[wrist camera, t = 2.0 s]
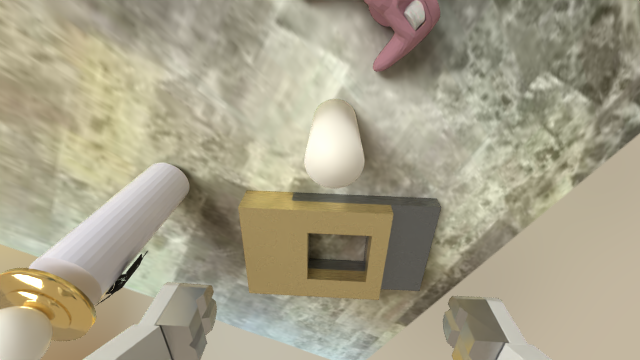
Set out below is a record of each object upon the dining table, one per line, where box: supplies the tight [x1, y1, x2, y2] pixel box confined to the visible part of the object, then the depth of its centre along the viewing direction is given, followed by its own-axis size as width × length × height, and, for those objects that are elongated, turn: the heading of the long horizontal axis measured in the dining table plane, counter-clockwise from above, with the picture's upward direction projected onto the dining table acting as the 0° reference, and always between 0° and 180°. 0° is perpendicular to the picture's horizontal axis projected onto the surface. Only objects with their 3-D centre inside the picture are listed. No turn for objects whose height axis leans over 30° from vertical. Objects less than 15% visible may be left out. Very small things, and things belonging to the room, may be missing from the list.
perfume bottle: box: [0, 163, 189, 360], centre depth 23 cm, size 6×6×20 cm
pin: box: [304, 99, 365, 188], centre depth 24 cm, size 4×4×9 cm
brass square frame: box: [238, 191, 441, 300], centre depth 33 cm, size 20×12×3 cm, turn 89°
